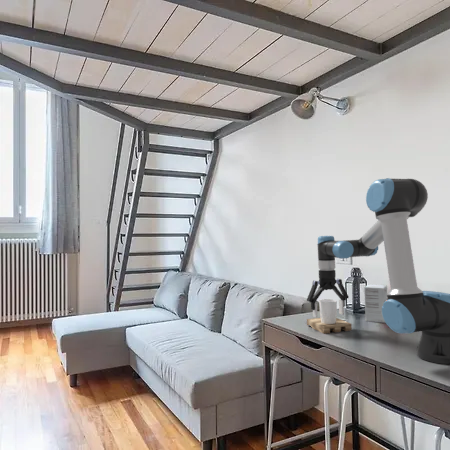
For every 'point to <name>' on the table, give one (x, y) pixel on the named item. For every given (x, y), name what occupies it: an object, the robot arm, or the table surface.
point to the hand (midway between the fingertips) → (328, 315)
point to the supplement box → (374, 302)
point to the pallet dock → (329, 325)
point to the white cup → (328, 311)
